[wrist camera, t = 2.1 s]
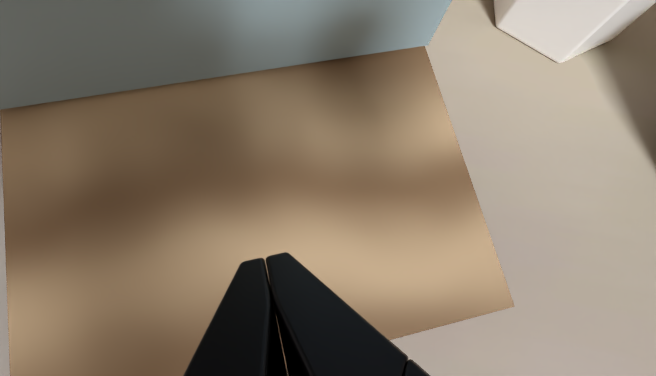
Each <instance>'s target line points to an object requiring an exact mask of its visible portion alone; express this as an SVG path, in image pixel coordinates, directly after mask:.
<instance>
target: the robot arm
mask: <svg viewBox="0 0 656 376" xmlns="http://www.w3.org/2000/svg"><path fill="white" fill-rule="evenodd" d="M266 266H267V268H266ZM267 271H268V273H267ZM268 277H269V278H268ZM269 282H270V283H269ZM276 317H277V318H276ZM277 322H278V323H277ZM278 327H279V328H278ZM279 332H280V333H279ZM280 337H281V338H280ZM281 342H282V343H281ZM282 347H283V349H282ZM283 351H284V354H283ZM284 356H285V359H284ZM285 361H286V364H285ZM286 366H287V370H288V375H289V376H430V375H429V374H428V373H427V372H425V371H424V370H423V369H422V368H421V367H420V366H419V365H417V364H416V363H415V362H414V361H413V360H411V359H410V360H408V356H407V355H406V354H404V353H403V352H402V351H401V350H400V349H399V348H398V347H396V346H395V345H394V344H393V343H392V342H391V341H390V340H388V339H387V338H386V337H385V336H384V335H383V334H381V333H380V332H379V331H378V330H377V329H376V328H375V327H373V326H372V325H371V324H370V323H369V322H368V321H367V320H365V319H364V318H363V317H362V316H361V315H360V314H358V313H357V312H356V311H355V310H354V309H353V308H352V307H350V306H349V305H348V304H347V303H346V302H345V301H343V300H342V299H341V298H340V297H339V296H338V295H337V294H335V293H334V292H333V291H332V290H331V289H330V288H329V287H327V286H326V285H325V284H324V283H323V282H322V281H320V280H319V279H318V278H317V277H316V276H315V275H314V274H312V273H311V272H310V271H309V270H308V269H307V268H306V267H304V266H303V265H302V264H301V263H300V262H299V261H297V260H296V259H295V258H294V257H293V256H292V255H291V254H289V253H287V252H284V253H279V254H275V255H270V256H267V257H266V263H265V260H264V259H263V258H257V259H252V260H248V261H244V262H242V263H241V264H240V265H239V267H238V269H237V271H236V273H235V275H234V277H233V279H232V281H231V283H230V285H229V287H228V289H227V291H226V293H225V295H224V297H223V298H222V300H221V302H220V304H219V306H218V308H217V310H216V312H215V314H214V316H213V318H212V320H211V322H210V324H209V326H208V328H207V330H206V332H205V334H204V336H203V337H202V339H201V341H200V343H199V345H198V347H197V349H196V351H195V353H194V355H193V357H192V359H191V361H190V363H189V365H188V367H187V369H186V371H185V373H184V375H183V376H287V370H286Z"/></svg>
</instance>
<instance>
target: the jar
mask: <svg viewBox="0 0 656 376" xmlns="http://www.w3.org/2000/svg"><path fill="white" fill-rule="evenodd" d="M655 3H656V0H494V10H495V21H496V27H497V28H499V29H500V30H502V31H504V32H505V33H507V34H509V35H510V36H512V37H514V38H516V39H517V40H519V41H521V42H522V43H524V44H526V45H528V46H529V47H531V48H533V49H534V50H536V51H538V52H540V53H541V54H543V55H545V56H546V57H548V58H550V59H552V60H553V61H555V62H557V63H562V62H564V61H567V60H569V59H571V58H573V57H575V56H577V55H580V54H582V53H584V52H586V51H588V50H590V49H593V48H595V47H597V46H599V45H601V44H603V43H605V42H608V41H610V40H612V39H613V38H615V37H616V36H617V35H618V34H619V33H621V32H622V31H623V30H624V29H625V28H626V27H628V26H629V25H630V24H631V23H632V22H634V21H635V20H636V19H637V18H638V17H639V16H641V15H642V14H643V13H644V12H645V11H646V10H648V9H649V8H650V7H651V6H652V5H654V4H655Z"/></svg>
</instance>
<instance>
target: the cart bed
mask: <svg viewBox="0 0 656 376" xmlns="http://www.w3.org/2000/svg"><path fill="white" fill-rule="evenodd" d="M0 112H1V140H2V167H3V194H4V222H5V249H6V276H7V304H8V331H9V359H10V376H183V375H184V373H185V371H186V369H187V367H188V365H189V363H190V361H191V359H192V357H193V355H194V353H195V351H196V349H197V347H198V345H199V343H200V341H201V339H202V337H203V336H204V334H205V332H206V330H207V328H208V326H209V324H210V322H211V320H212V318H213V316H214V314H215V312H216V310H217V308H218V306H219V304H220V302H221V300H222V298H223V297H224V295H225V293H226V291H227V289H228V287H229V285H230V283H231V281H232V279H233V277H234V275H235V273H236V271H237V269H238V267H239V265H240V264H241V263H242V262H244V261H248V260H252V259H257V258H263V259H264V260H265V263H266V257H267V256H270V255H275V254H279V253H284V252H287V253H289V254H291V255H292V256H293V257H294V258H295V259H296V260H297V261H299V262H300V263H301V264H302V265H303V266H304V267H306V268H307V269H308V270H309V271H310V272H311V273H312V274H314V275H315V276H316V277H317V278H318V279H319V280H320V281H322V282H323V283H324V284H325V285H326V286H327V287H329V288H330V289H331V290H332V291H333V292H334V293H335V294H337V295H338V296H339V297H340V298H341V299H342V300H343V301H345V302H346V303H347V304H348V305H349V306H350V307H352V308H353V309H354V310H355V311H356V312H357V313H358V314H360V315H361V316H362V317H363V318H364V319H365V320H367V321H368V322H369V323H370V324H371V325H372V326H373V327H375V328H376V329H377V330H378V331H379V332H380V333H381V334H383V335H384V336H385V337H386V338H387V339H388V340H392V339H395V338H399V337H403V336H406V335H410V334H414V333H418V332H421V331H425V330H429V329H432V328H436V327H440V326H444V325H447V324H451V323H455V322H458V321H462V320H466V319H470V318H473V317H477V316H481V315H485V314H488V313H492V312H496V311H499V310H503V309H507V308H511V307H514V303H513V300H512V298H511V295H510V292H509V289H508V286H507V283H506V280H505V277H504V274H503V271H502V269H501V266H500V263H499V260H498V257H497V254H496V251H495V248H494V245H493V243H492V240H491V237H490V234H489V231H488V228H487V225H486V222H485V219H484V216H483V214H482V211H481V208H480V205H479V202H478V199H477V196H476V193H475V190H474V188H473V185H472V182H471V179H470V176H469V173H468V170H467V167H466V164H465V162H464V159H463V156H462V153H461V150H460V147H459V144H458V141H457V138H456V135H455V133H454V130H453V127H452V124H451V121H450V118H449V115H448V112H447V109H446V107H445V104H444V101H443V98H442V95H441V92H440V89H439V86H438V83H437V80H436V78H435V75H434V72H433V69H432V66H431V63H430V60H429V57H428V54H427V52H426V49H425V46H420V47H413V48H407V49H400V50H393V51H387V52H380V53H373V54H367V55H360V56H354V57H347V58H340V59H334V60H327V61H320V62H314V63H307V64H300V65H294V66H287V67H280V68H274V69H267V70H260V71H254V72H247V73H241V74H234V75H227V76H221V77H214V78H207V79H201V80H194V81H187V82H181V83H174V84H167V85H161V86H154V87H147V88H141V89H134V90H127V91H121V92H114V93H108V94H101V95H94V96H88V97H81V98H74V99H68V100H61V101H54V102H48V103H41V104H34V105H28V106H21V107H14V108H8V109H1V110H0ZM266 268H267V266H266ZM267 273H268V271H267ZM268 278H269V277H268ZM269 283H270V282H269ZM276 318H277V317H276ZM277 323H278V322H277ZM278 328H279V327H278ZM279 333H280V332H279ZM280 338H281V337H280ZM281 343H282V342H281ZM282 349H283V347H282ZM283 354H284V351H283ZM284 359H285V356H284ZM285 364H286V361H285ZM286 368H287V366H286Z"/></svg>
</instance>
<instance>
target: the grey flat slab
mask: <svg viewBox="0 0 656 376" xmlns="http://www.w3.org/2000/svg"><path fill="white" fill-rule="evenodd" d="M451 1H452V0H0V110H1V109H8V108H14V107H21V106H28V105H34V104H41V103H48V102H54V101H61V100H68V99H74V98H81V97H88V96H94V95H101V94H108V93H114V92H121V91H127V90H134V89H141V88H147V87H154V86H161V85H167V84H174V83H181V82H187V81H194V80H201V79H207V78H214V77H221V76H227V75H234V74H241V73H247V72H254V71H260V70H267V69H274V68H280V67H287V66H294V65H300V64H307V63H314V62H320V61H327V60H334V59H340V58H347V57H354V56H360V55H367V54H373V53H380V52H387V51H393V50H400V49H407V48H413V47H420V46H427V45H428V44H429V42H430V40H431V38H432V37H433V35H434V33H435V31H436V29H437V27H438V25H439V23H440V22H441V20H442V18H443V16H444V14H445V12H446V10H447V8H448V6H449V5H450V3H451Z"/></svg>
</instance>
